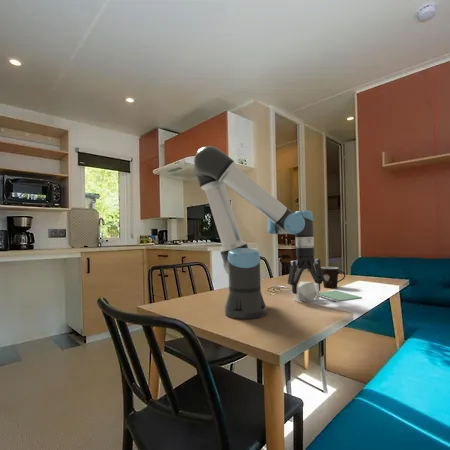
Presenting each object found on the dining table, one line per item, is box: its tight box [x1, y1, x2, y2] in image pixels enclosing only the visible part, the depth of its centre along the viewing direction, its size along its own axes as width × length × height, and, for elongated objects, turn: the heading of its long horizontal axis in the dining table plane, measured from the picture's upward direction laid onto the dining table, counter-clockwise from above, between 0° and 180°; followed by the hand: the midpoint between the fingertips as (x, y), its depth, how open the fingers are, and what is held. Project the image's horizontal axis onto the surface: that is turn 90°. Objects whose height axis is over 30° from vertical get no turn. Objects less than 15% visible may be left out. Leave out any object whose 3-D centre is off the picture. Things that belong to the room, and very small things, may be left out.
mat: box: [319, 290, 363, 302], centre depth 127 cm, size 12×16×1 cm
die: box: [297, 280, 317, 303], centre depth 120 cm, size 8×9×10 cm
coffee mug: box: [321, 266, 346, 290], centre depth 145 cm, size 12×9×10 cm
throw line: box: [319, 295, 337, 303], centre depth 124 cm, size 1×16×1 cm, turn 20°
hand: (306, 299), depth 120 cm, fingers open, 9 cm apart
